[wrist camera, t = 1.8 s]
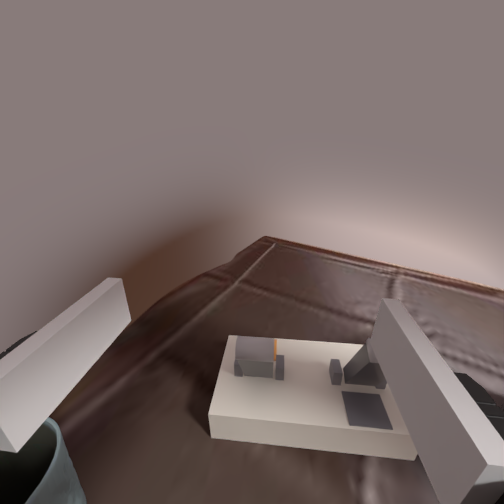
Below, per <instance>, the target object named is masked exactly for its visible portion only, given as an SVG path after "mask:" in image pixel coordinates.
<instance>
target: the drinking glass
mask: <svg viewBox="0 0 504 504" xmlns="http://www.w3.org/2000/svg"><path fill="white" fill-rule="evenodd" d="M0 504H87V502H86V497H85V494H84V492H83V489H82V487H81V485H80V482H79V479H78V476H77V473H76V471H75V469H74V467H73V463H72V461H71V459H70V457H69V455H68V451H67V449H66V446H65V443H64V440H63V437H62V434H61V431H60V428H59V426H58V424H57V423H56V422H55V421H54V420H53V419H51V418H49V417H48V418H47V419H46V420H45V421H44V422H43V423H42V425H41V426H40V427H39V428H38V429H37V430H36V432H35V433H34V434H33V435H32V436H31V437H30V438H29V440H28V441H27V442H26V443H25V444H24V445H23V447H22V448H21V449H20V450H19V451H18V452H17V453H15V452H8V451H2V450H0Z"/></svg>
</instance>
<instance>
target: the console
mask: <svg viewBox="0 0 504 504" xmlns="http://www.w3.org/2000/svg"><path fill="white" fill-rule="evenodd" d="M236 340H237V336H233V335H229V337H228V341H227V345H226V349H225V352H224V356H223V360H222V364H221V368H220V371H219V375H218V379H217V383H216V386H215V390H214V394H213V398H212V402H211V405H210V409H209V413H208V417H209V425H210V432H211V438H217V439H226V440H235V441H244V442H253V443H262V444H270V445H279V446H288V447H297V448H306V449H315V450H324V451H332V452H341V453H350V454H359V455H368V456H377V457H386V458H394V459H403V460H412V461H414V460H415V458H416V456H417V454H418V452H417V450H416V448H415V445H414V443H413V441H412V439H411V436H410V434H409V432H408V429H407V427H406V425H405V422H404V420H403V418H402V416H401V413H400V411H399V409H398V406H397V404H396V402H395V399H394V397H393V395H392V393H391V390H390V388H389V386H388V383H387V381H386V380H385V381H383V382H381V383H380V384H378V385H376V386H366V385H354V384H345V380H344V372H343V368H344V367H345V365H346V364H347V363H348V362H349V361H350V360H351V359H352V358H353V356H354V355H355V354H356V353H357V352H358V351H359V350H360V349H361V347H362V346H363V345H361V344H346V343H332V342H318V341H304V340H289V339H275V338H274V362H273V378H264V377H252V376H245V375H244V373H243V371H242V369H241V367H240V365H239V363H238V360H237V359H236V358H235V348H236Z"/></svg>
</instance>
